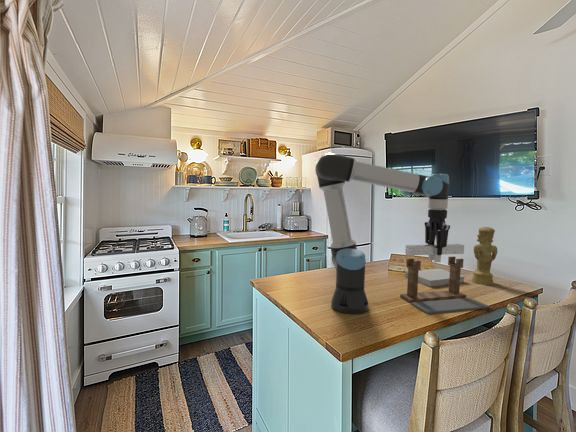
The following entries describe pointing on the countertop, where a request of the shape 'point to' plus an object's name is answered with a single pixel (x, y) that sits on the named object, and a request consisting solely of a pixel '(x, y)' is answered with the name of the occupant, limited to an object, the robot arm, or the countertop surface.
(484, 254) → the statue
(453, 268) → the rack
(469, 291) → the countertop surface
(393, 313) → the countertop surface
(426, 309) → the mat
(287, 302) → the countertop surface
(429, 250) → the rail
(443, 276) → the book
